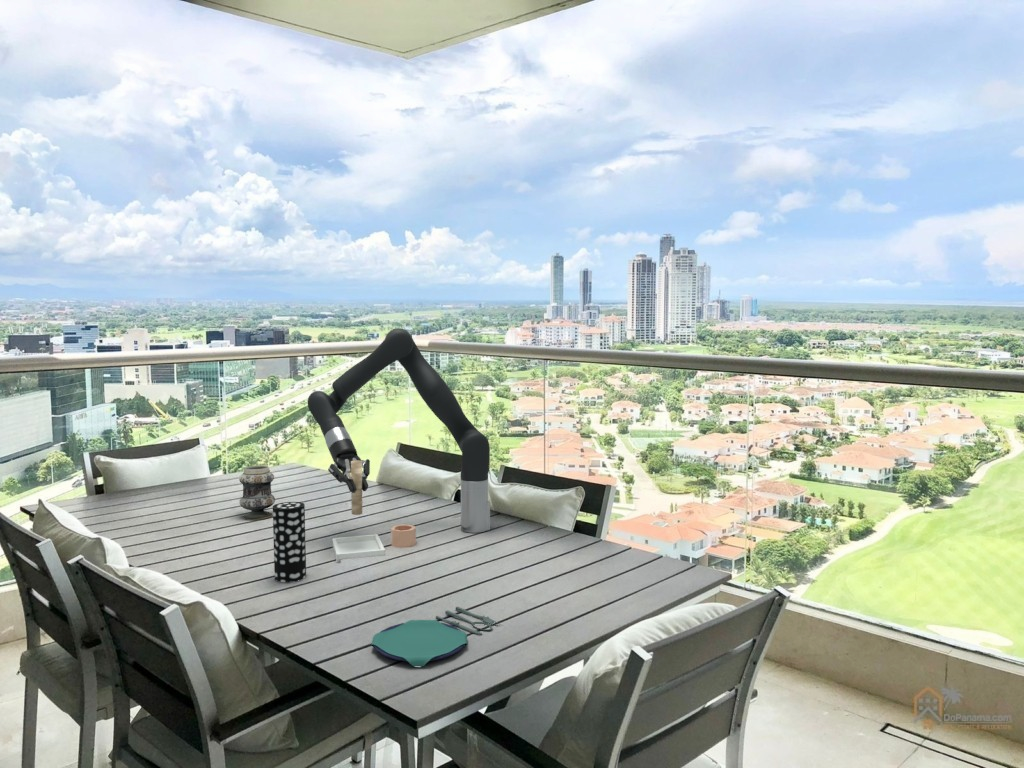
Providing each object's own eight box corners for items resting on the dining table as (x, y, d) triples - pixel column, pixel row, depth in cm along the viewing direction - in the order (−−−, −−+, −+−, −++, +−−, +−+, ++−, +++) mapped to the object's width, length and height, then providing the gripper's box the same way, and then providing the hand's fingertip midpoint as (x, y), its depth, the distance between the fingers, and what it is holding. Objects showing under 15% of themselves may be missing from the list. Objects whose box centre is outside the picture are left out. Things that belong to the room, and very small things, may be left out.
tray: (377, 542, 235) (377, 534, 235) (385, 558, 219) (385, 549, 218) (332, 546, 231) (332, 538, 230) (336, 562, 214) (336, 554, 214)
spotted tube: (297, 583, 197) (295, 510, 196) (268, 581, 199) (266, 508, 197) (311, 573, 206) (310, 502, 204) (284, 571, 207) (282, 501, 206)
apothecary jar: (275, 511, 273) (273, 463, 272) (275, 519, 262) (274, 469, 261) (240, 513, 270) (238, 465, 268) (239, 522, 258) (237, 471, 257)
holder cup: (413, 542, 234) (413, 523, 234) (417, 549, 227) (417, 530, 227) (389, 544, 232) (389, 525, 232) (393, 551, 225) (392, 532, 224)
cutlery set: (353, 648, 158) (354, 638, 158) (453, 609, 181) (453, 600, 181) (416, 678, 145) (416, 667, 145) (515, 632, 168) (515, 622, 168)
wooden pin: (361, 511, 226) (361, 460, 224) (363, 514, 223) (362, 461, 221) (351, 512, 225) (350, 460, 223) (352, 515, 222) (351, 462, 220)
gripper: (323, 439, 223) (343, 486, 215) (364, 435, 232) (385, 480, 224) (315, 454, 227) (334, 501, 219) (356, 449, 236) (376, 494, 228)
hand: (360, 490), depth 221 cm, fingers closed on wooden pin, 3 cm apart
